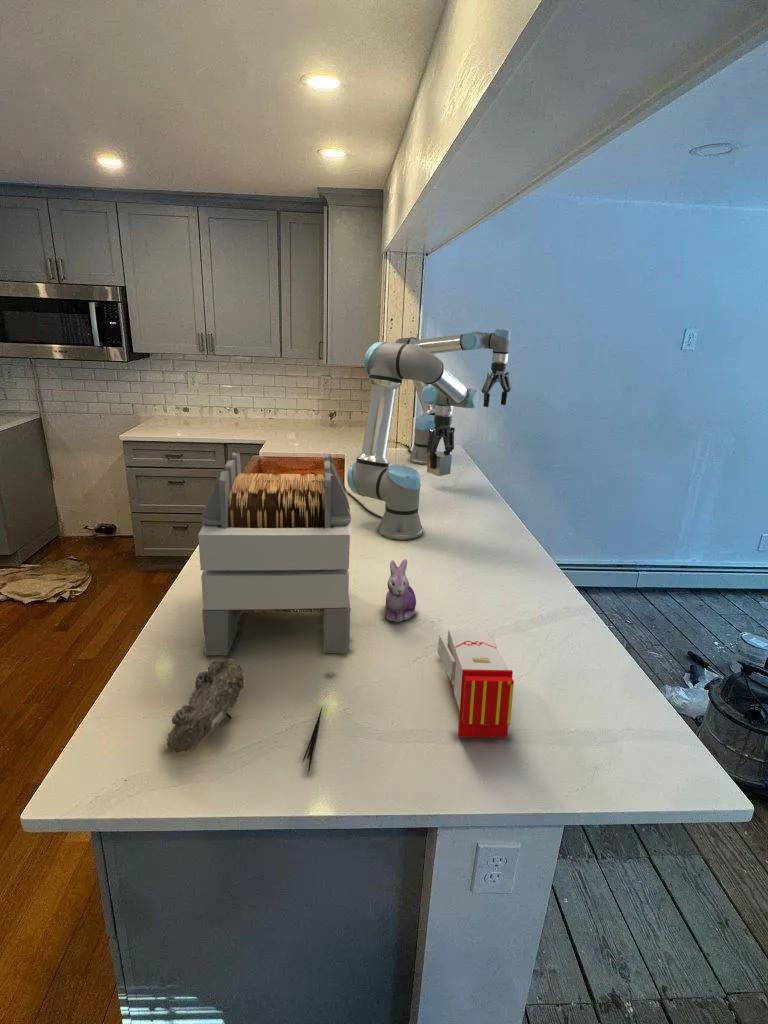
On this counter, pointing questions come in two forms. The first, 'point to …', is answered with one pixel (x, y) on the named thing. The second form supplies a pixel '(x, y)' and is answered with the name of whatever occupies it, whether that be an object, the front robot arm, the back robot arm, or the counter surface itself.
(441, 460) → the grey beige block
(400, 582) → the figurine
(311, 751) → the feather
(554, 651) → the counter surface
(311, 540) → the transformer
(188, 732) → the fossil
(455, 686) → the toy
